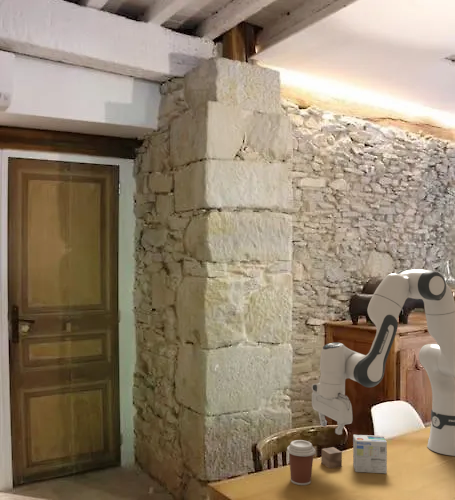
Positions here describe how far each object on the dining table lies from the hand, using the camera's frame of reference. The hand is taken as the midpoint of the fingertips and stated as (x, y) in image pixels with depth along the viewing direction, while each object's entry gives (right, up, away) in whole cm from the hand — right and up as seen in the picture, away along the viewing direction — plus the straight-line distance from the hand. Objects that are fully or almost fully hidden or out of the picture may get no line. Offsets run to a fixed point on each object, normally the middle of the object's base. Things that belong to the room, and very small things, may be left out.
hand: (330, 429), depth 184 cm
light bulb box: (+13, -13, -4) cm, 18 cm away
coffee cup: (-12, -12, -14) cm, 22 cm away
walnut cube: (0, -12, 0) cm, 12 cm away
